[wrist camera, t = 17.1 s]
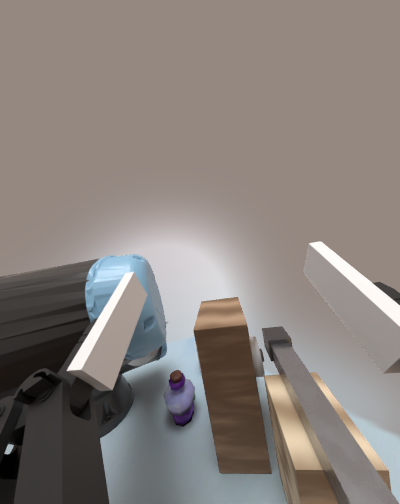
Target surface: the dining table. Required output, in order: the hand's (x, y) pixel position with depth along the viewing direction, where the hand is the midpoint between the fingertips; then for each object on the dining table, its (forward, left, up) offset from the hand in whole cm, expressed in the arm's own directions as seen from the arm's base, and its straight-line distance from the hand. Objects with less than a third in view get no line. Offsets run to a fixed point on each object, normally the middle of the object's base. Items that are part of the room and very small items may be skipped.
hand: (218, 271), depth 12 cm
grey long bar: (-11, +9, -24) cm, 28 cm away
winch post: (-23, 0, -44) cm, 49 cm away
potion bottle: (-27, -17, -44) cm, 54 cm away
